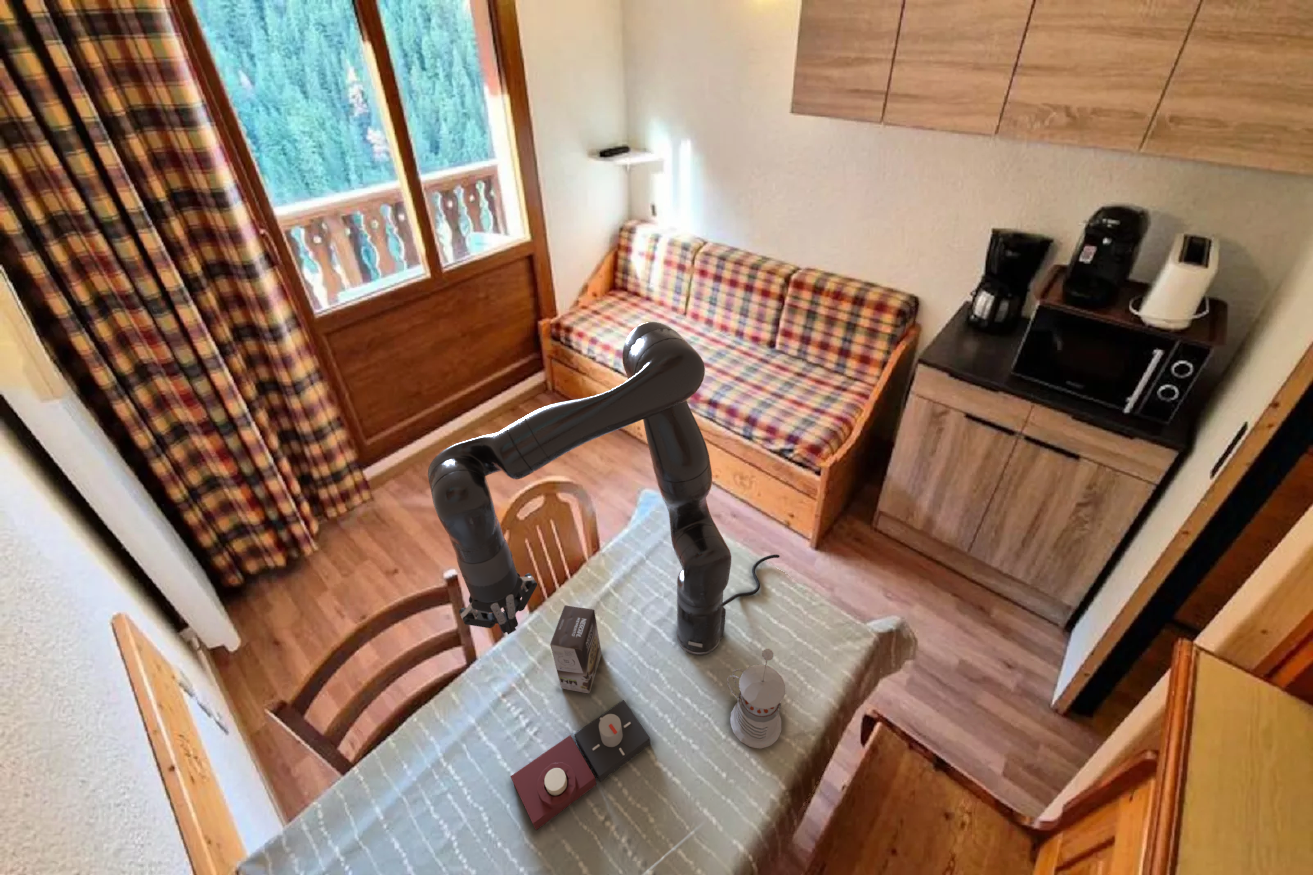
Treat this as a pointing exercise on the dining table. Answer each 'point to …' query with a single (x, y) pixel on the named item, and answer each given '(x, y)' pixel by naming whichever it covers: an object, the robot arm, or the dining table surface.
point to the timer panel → (614, 757)
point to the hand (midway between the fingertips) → (509, 628)
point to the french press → (758, 704)
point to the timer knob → (610, 730)
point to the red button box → (533, 781)
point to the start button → (555, 781)
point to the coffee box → (576, 648)
